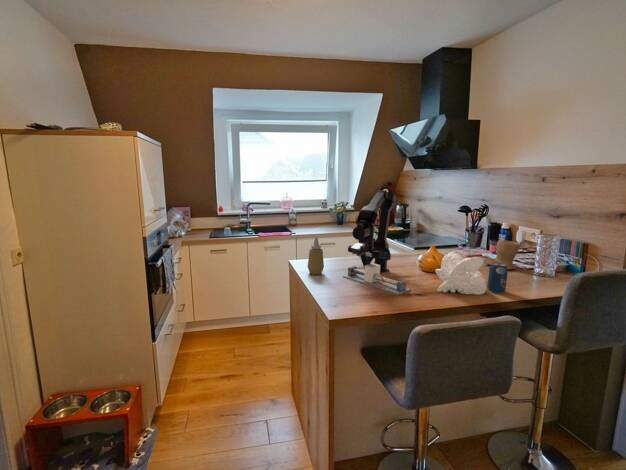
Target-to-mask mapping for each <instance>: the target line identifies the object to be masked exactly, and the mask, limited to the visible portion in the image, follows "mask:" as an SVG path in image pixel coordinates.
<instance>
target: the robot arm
mask: <svg viewBox="0 0 626 470" xmlns="http://www.w3.org/2000/svg"><path fill="white" fill-rule="evenodd" d="M396 203H397V195H396V194H395V193H392V192H390V191H387V190H384V189H383V190H382V189H381V190H380V189H379V190H377V191H375V195H374V196H373V198H372V199H371V201H370V202H369V204H367V205H364V206H363V207H362V208H361V209H360V210H359V212H358V215H357V219H356V222H355V224H356V227H354V228H353V230H352V233H351V234H352V236H353V238H354V239H355V240H357V242H356V243H354V244H351V245H349V246H347V252H349V253H351V254H353V255H356V256H357V257H359V258H360V260H361V263H362V266H363V269H364V270H363V271H365V265H369V264H372V262H373V263H374V264H378V265H380V273H384V272H388V271H390V269H389V268H388V261H390V260H391V257H392V254H391V250H390V249H389V248H390V245H389V241H388V239H387V238H388V231H389V224H390V217H391V216H390V215H391V211H392V210H393V209H394V208H395V206H396V205H395V204H396ZM379 210H380V214H378V211H379ZM379 215H380V216H379ZM378 217H379V223H378V228H377V237H376V238H375V237H374V236H375V226H376V222H377V220H378ZM373 260H374V261H373Z"/></svg>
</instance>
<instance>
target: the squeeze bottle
mask: <svg viewBox="0 0 626 470" xmlns="http://www.w3.org/2000/svg"><path fill="white" fill-rule="evenodd" d="M308 251H309V252H308V260H307V270H308V272H309V274H310V275H313V276H320V275H322V273H323V271H324V268H325V263H324V250H323V249H322V244H320V243H319V239H318V237H317V236H315V237H314V241H313V244H311V248H309V250H308Z"/></svg>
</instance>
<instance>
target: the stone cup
mask: <svg viewBox="0 0 626 470" xmlns="http://www.w3.org/2000/svg"><path fill="white" fill-rule="evenodd" d="M519 249H520V244H519V243H518V242H515V241H511V240H506V239H502V238H501V239H499V240H498V241H497V244H496V257H495V258H491V257H487V258H485V259H483V260H484V261H483V264H486V265H489V266H491V264H492V263H493V262H498V263H504V264H506V265H507V268H508V270H514V269H516V268H517V266H516V265H515V264H514V263H513V262H514V260H515V258H516V256H517V254H518V252H519Z"/></svg>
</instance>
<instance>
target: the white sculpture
mask: <svg viewBox="0 0 626 470" xmlns="http://www.w3.org/2000/svg"><path fill="white" fill-rule="evenodd" d="M483 261H484V259H483V258H482V257H480V256H472V257H466V258H463V257H462V256H461V255H460V254H458V253H456V252H453V251H450V252H448V253H447V254H446V255H444V256H443V257H442V260H441V262H440V268H435V274H436V275H437V276H438V279H439V280H441V281H443V282H442V284H440V285H439V287H438V288H437V289H436V291H437V292H439V293H440V292H441V293H442V292H443V293H448V292H449V291H450V293H456V291H457V292H458V293H459V294H465V295H470V294H471V295H484V294H485V292H486V291H487V283H486V282H487V279H485V278H484V276H483V274H482V273H481V271H479V269H480V268H481V266H482V265H483V264H484V262H483Z"/></svg>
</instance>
